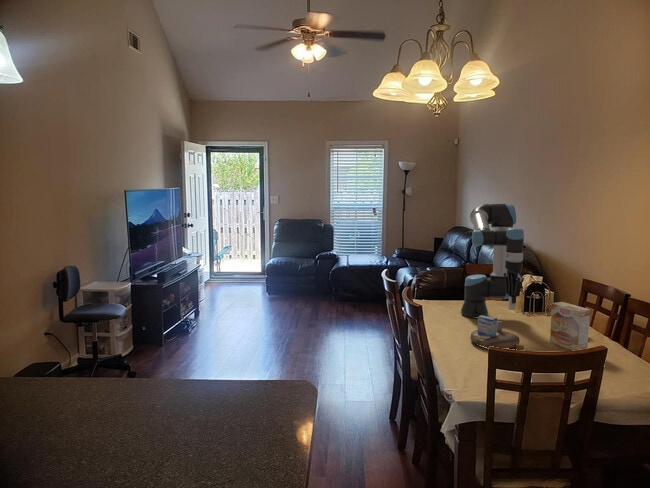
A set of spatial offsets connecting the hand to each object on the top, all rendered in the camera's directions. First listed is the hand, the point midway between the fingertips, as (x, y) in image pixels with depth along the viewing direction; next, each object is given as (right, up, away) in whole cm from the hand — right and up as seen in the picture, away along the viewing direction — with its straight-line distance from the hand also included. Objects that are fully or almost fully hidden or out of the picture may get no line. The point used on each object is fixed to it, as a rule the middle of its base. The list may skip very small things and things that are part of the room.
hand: (511, 309), depth 216 cm
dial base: (-7, -17, -1) cm, 18 cm away
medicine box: (-11, -13, +3) cm, 17 cm away
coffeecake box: (+25, -17, -4) cm, 30 cm away
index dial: (-8, -15, +1) cm, 17 cm away
